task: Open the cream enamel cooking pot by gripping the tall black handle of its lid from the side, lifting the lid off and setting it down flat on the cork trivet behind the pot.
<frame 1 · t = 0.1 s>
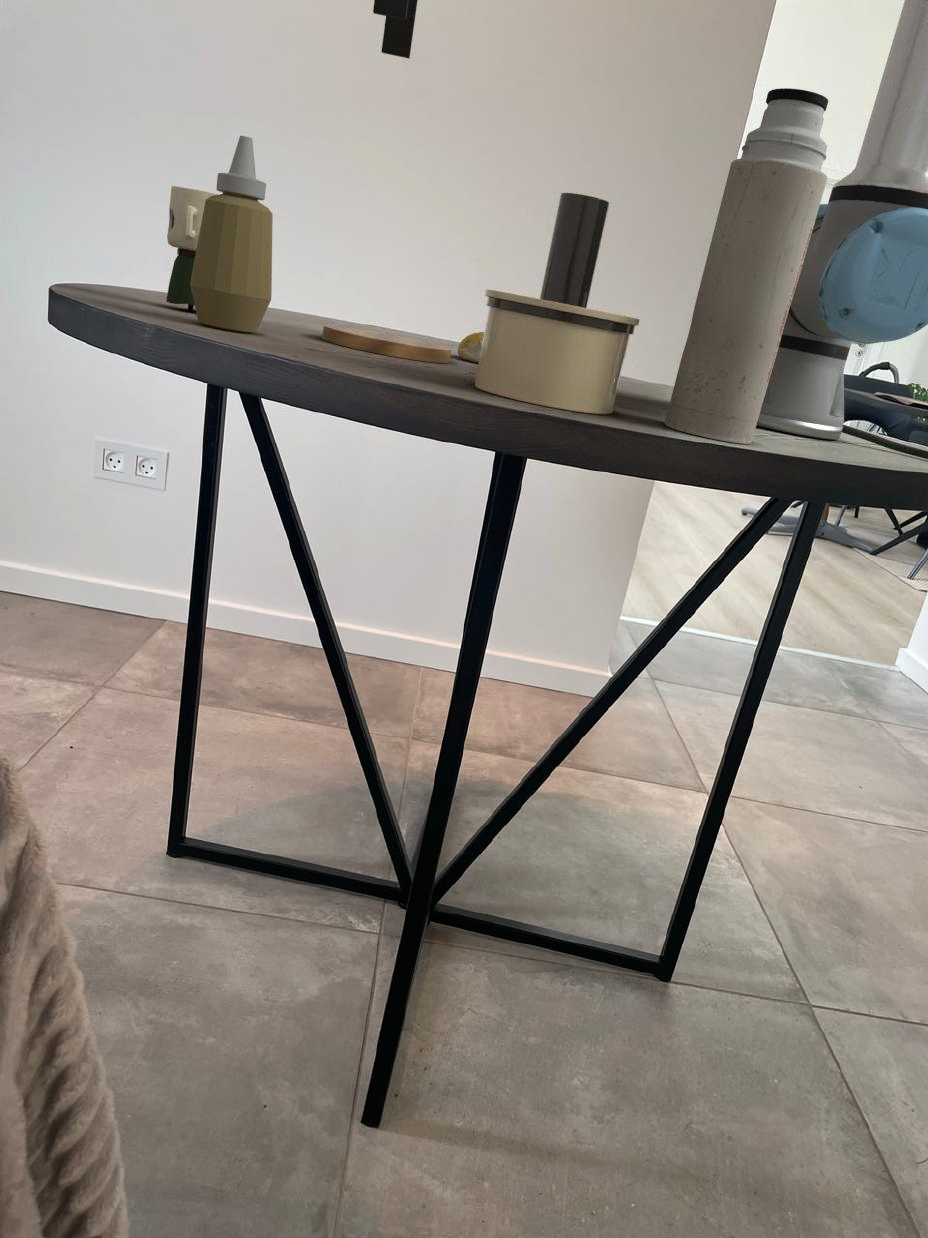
hand: (392, 37, 83), 28 cm above the table, tool pointing down, fingers open, 13 cm apart
trivet: (386, 350, 108), on the table
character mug: (193, 313, 109), on the table
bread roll: (489, 365, 119), on the table
pot: (543, 398, 87), on the table
squeeze bottle: (227, 330, 96), on the table
thermos bottle: (706, 435, 85), on the table
lid: (561, 310, 85), point 8 cm above the table, touching pot
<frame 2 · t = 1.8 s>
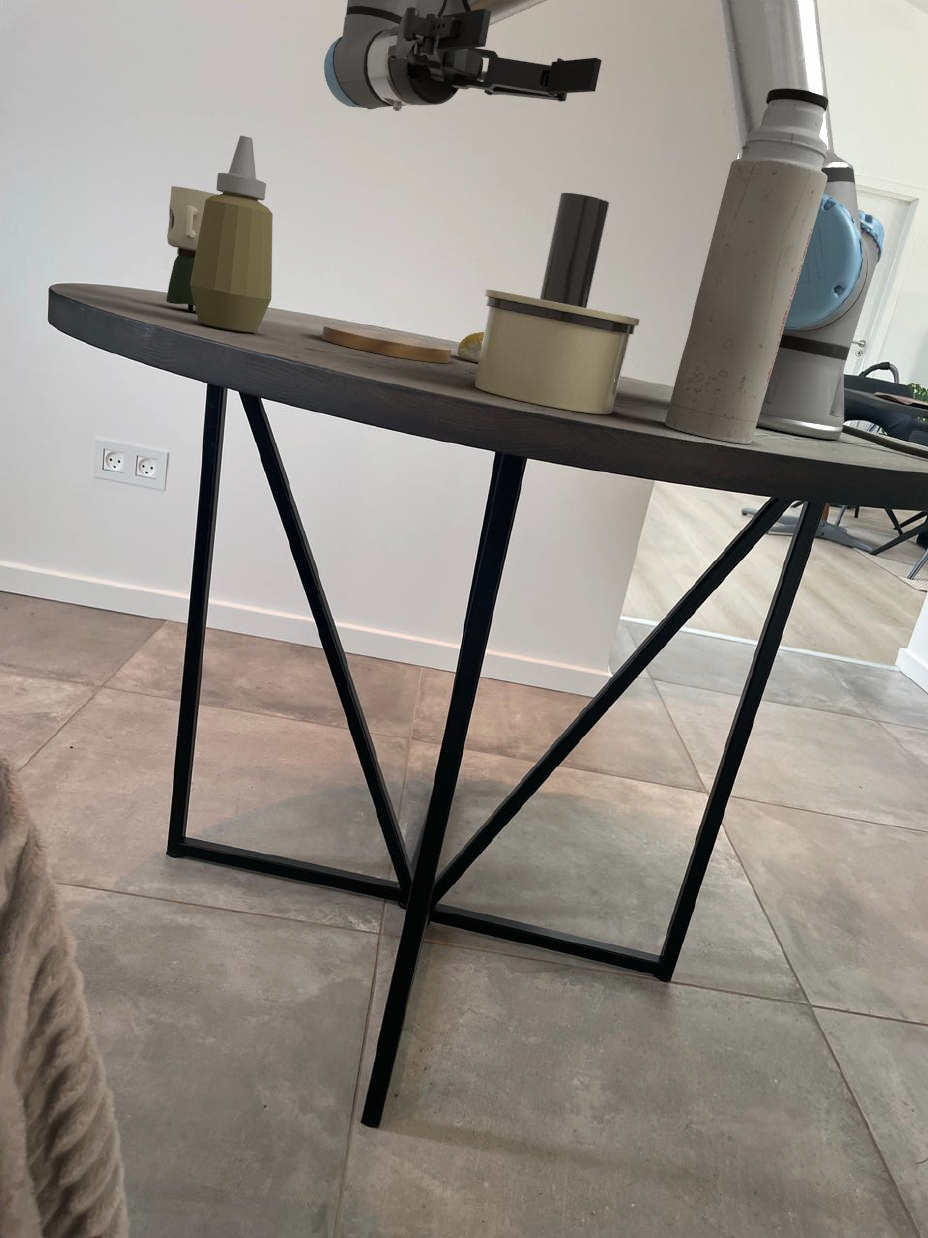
hand: (543, 51, 85), 30 cm above the table, tool horizontal, fingers open, 13 cm apart
nothing on the table moved.
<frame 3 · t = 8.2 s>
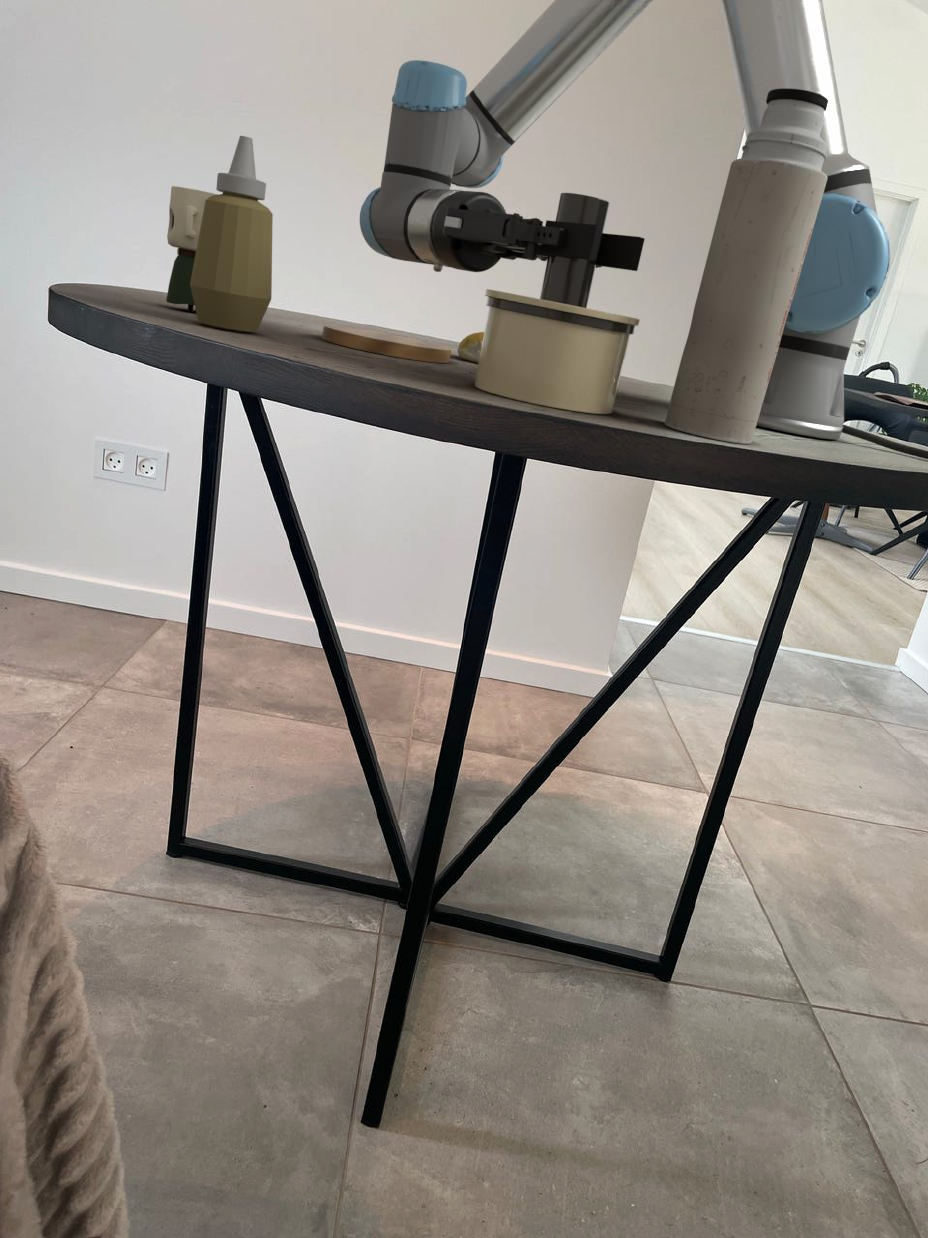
hand: (617, 248, 79), 14 cm above the table, tool horizontal, fingers closed on lid, 4 cm apart
lid: (561, 310, 85), point 8 cm above the table, touching gripper, pot
everything else where it was.
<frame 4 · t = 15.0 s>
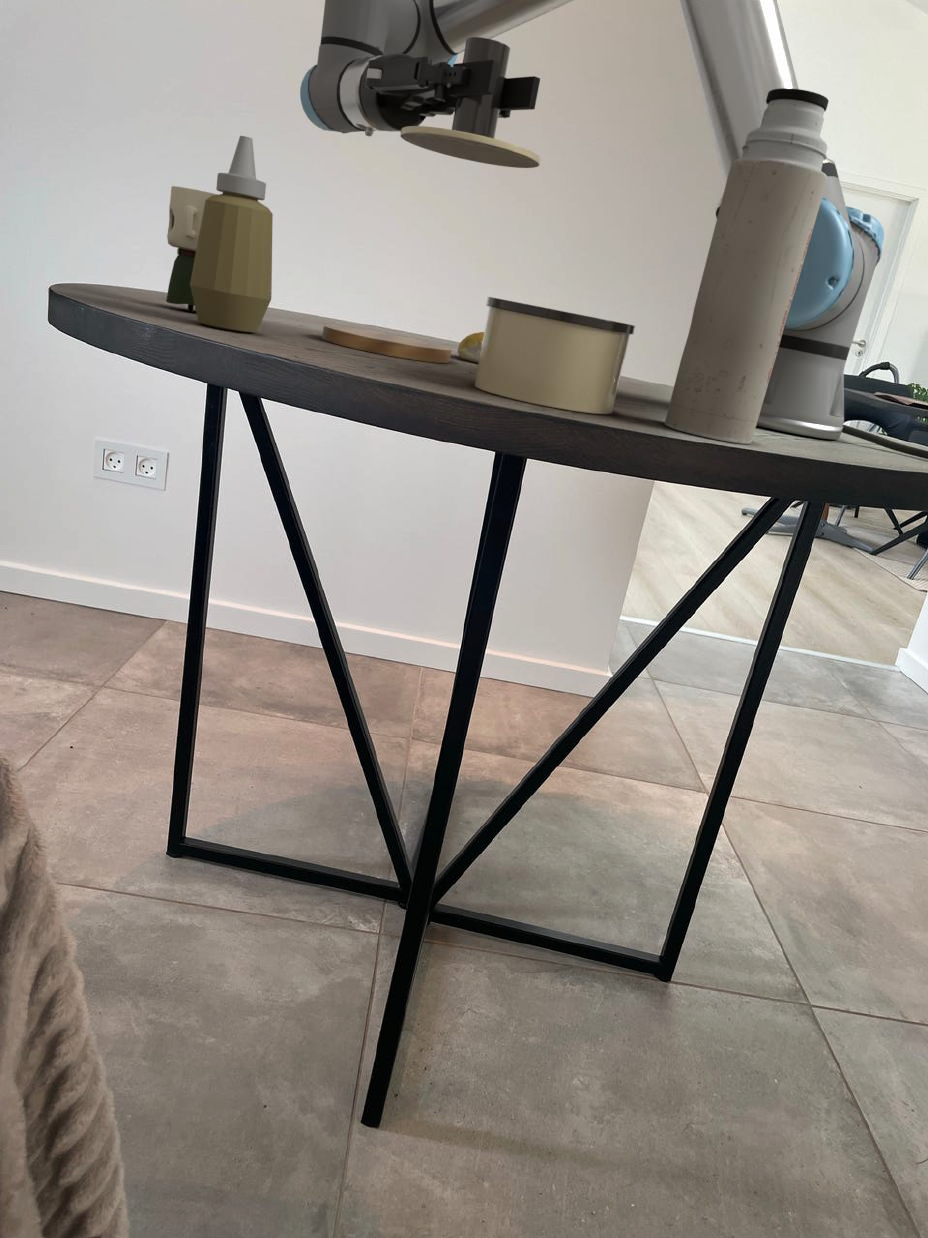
hand: (514, 84, 88), 27 cm above the table, tool horizontal, fingers closed on lid, 4 cm apart
lid: (470, 150, 94), point 21 cm above the table, touching gripper
everything else where it was.
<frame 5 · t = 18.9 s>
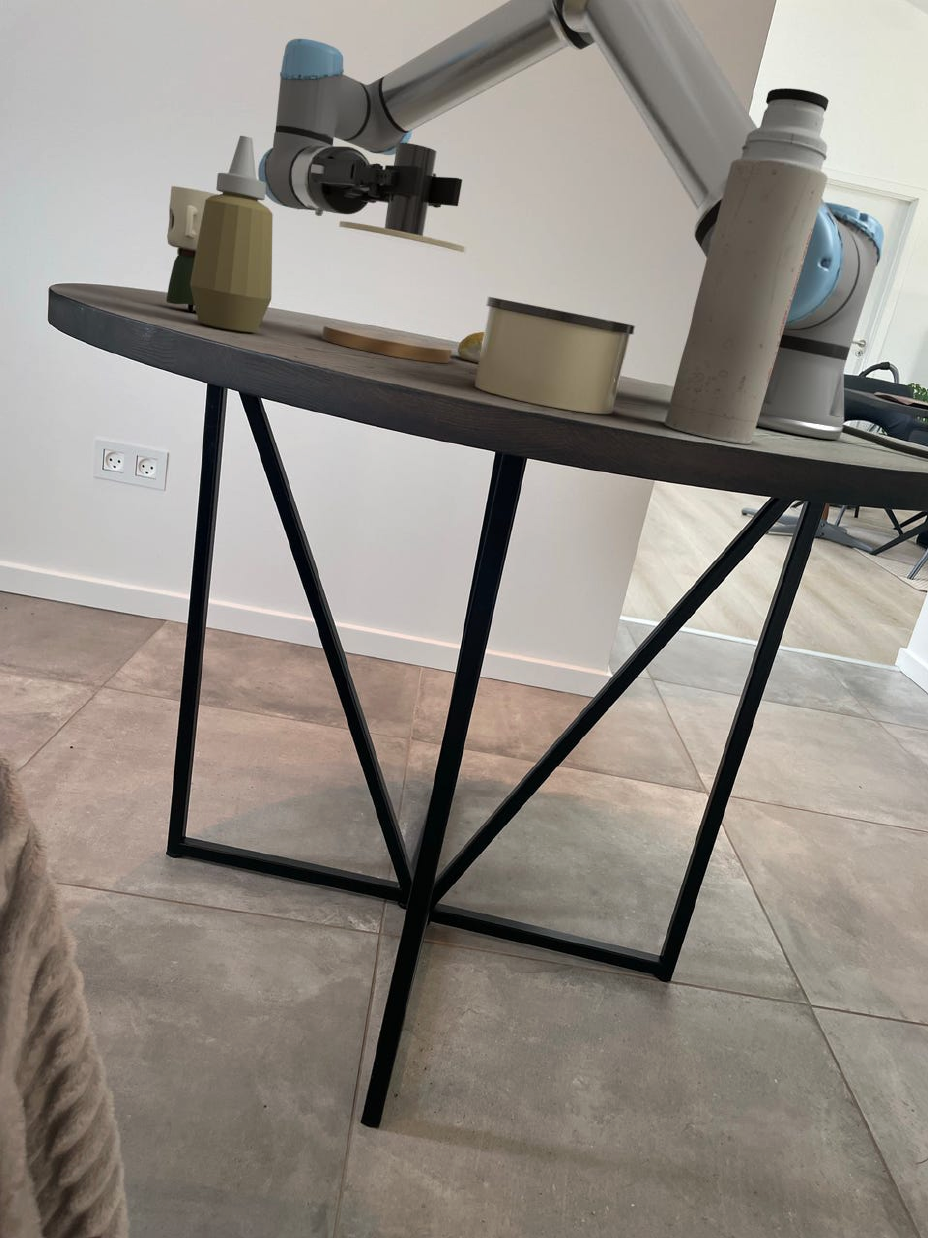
hand: (437, 186, 99), 18 cm above the table, tool horizontal, fingers closed on lid, 4 cm apart
lid: (402, 240, 105), point 12 cm above the table, touching gripper
everything else where it was.
when the fingers open (7 cm above the table, at t = 22.0 s): lid stays where it is, resting on trivet.
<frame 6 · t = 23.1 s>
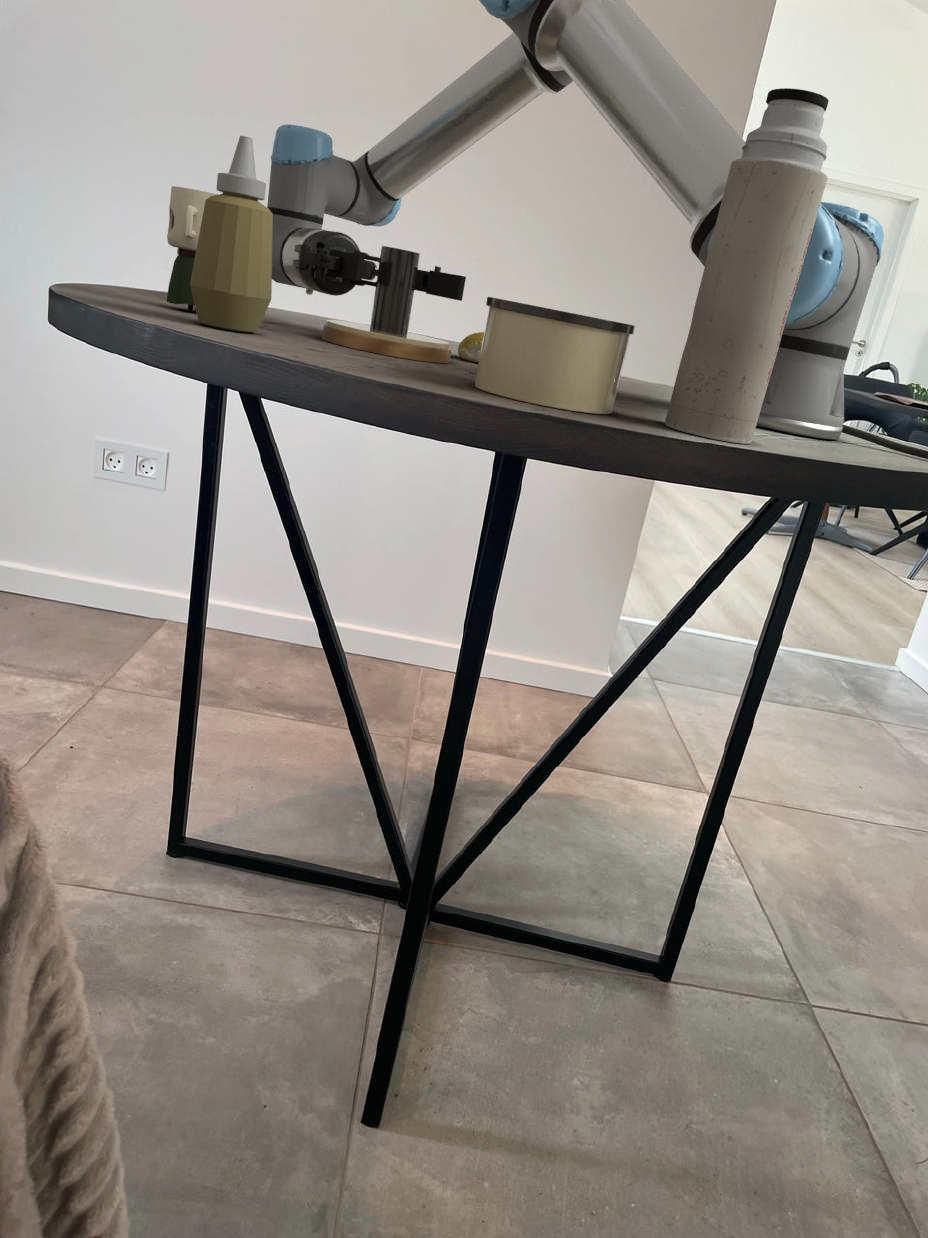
hand: (413, 278, 103), 8 cm above the table, tool horizontal, fingers open, 13 cm apart
lid: (387, 336, 108), point 1 cm above the table, touching trivet
everything else where it was.
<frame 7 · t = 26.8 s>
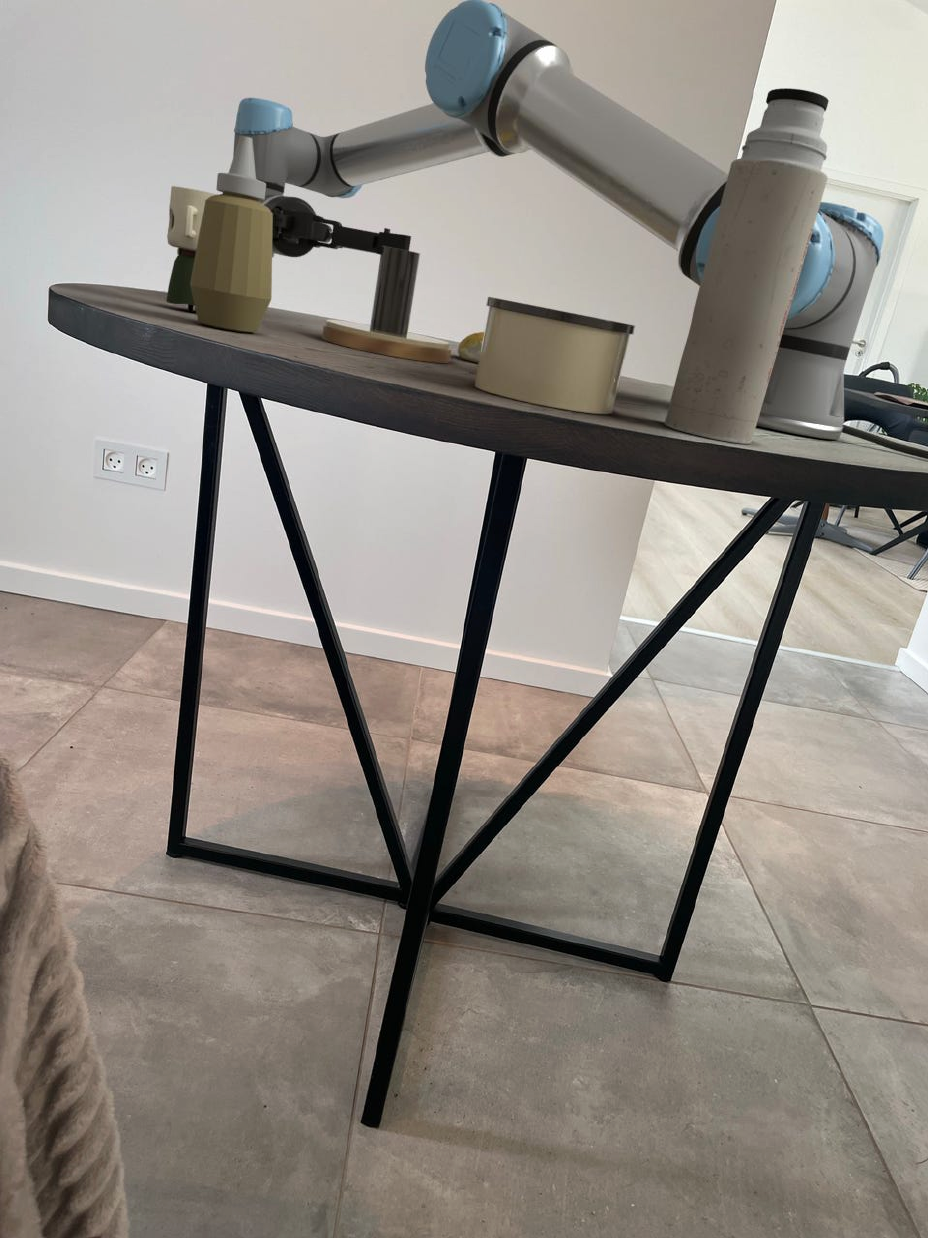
hand: (360, 236, 112), 12 cm above the table, tool horizontal, fingers open, 13 cm apart
nothing on the table moved.
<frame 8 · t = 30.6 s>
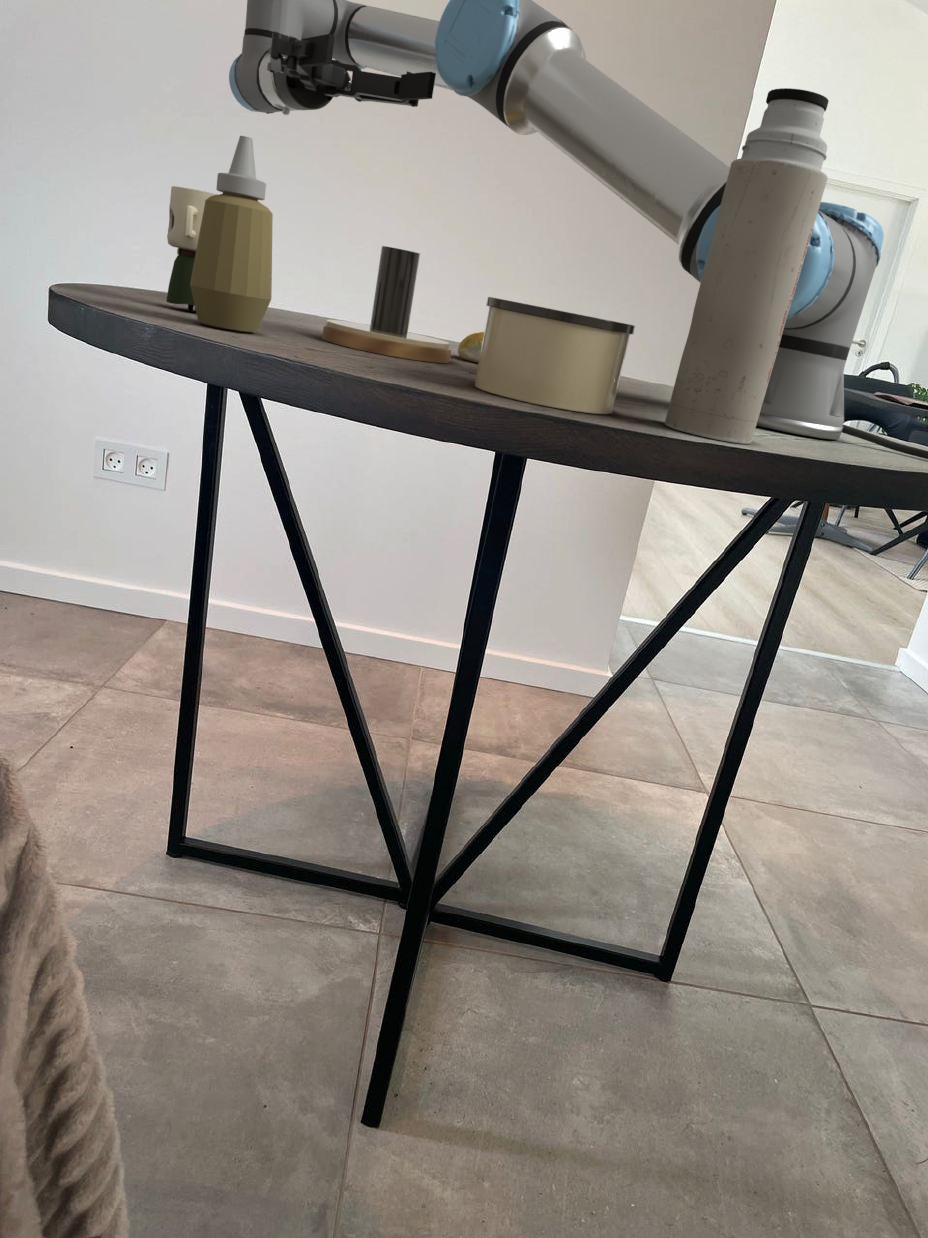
hand: (382, 67, 106), 30 cm above the table, tool horizontal, fingers open, 13 cm apart
nothing on the table moved.
at the end: lid inside the target area on the trivet (0.0 cm from its centre), point 1.5 cm above the trivet's base; lid tilted 0°; the gripper is holding nothing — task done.
